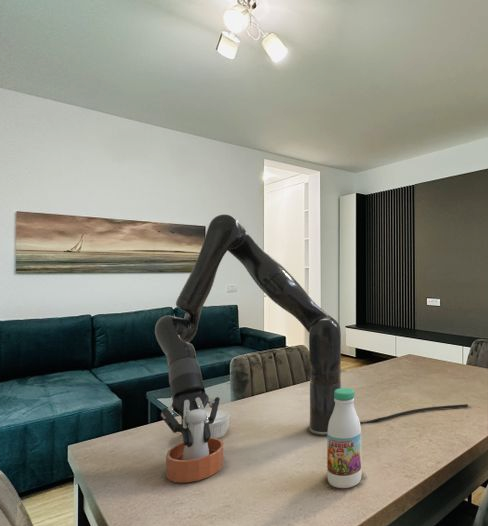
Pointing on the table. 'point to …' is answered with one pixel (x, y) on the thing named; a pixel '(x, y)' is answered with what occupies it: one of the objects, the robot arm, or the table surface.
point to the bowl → (194, 463)
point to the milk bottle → (344, 442)
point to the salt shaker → (196, 436)
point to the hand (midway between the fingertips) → (198, 442)
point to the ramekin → (219, 423)
